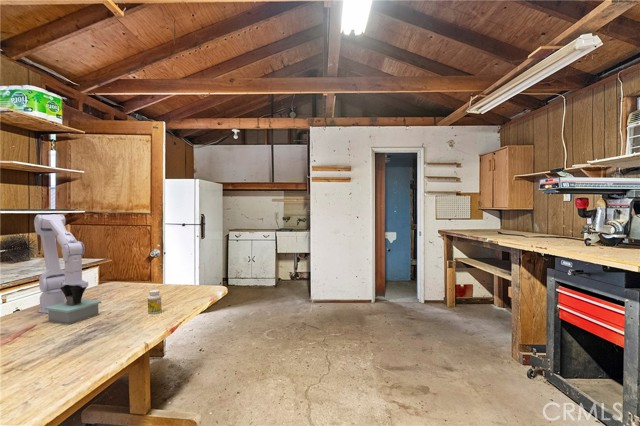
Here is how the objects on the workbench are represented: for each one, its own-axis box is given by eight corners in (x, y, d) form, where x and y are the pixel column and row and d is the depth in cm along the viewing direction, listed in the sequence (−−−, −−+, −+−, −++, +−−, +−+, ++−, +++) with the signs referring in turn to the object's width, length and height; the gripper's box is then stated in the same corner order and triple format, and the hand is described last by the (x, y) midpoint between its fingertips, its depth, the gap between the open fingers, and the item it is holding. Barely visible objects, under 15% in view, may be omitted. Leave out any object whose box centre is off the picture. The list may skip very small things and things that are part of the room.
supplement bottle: (164, 310, 141) (163, 289, 141) (154, 314, 136) (154, 292, 136) (154, 309, 143) (154, 288, 143) (145, 313, 138) (144, 291, 138)
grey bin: (48, 321, 129) (48, 309, 129) (78, 311, 140) (78, 300, 140) (69, 324, 125) (68, 312, 125) (98, 314, 136) (98, 303, 136)
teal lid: (44, 309, 128) (44, 298, 128) (79, 300, 141) (79, 290, 141) (68, 312, 124) (67, 301, 124) (101, 302, 137) (101, 292, 137)
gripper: (51, 271, 131) (51, 303, 131) (75, 274, 126) (76, 307, 126) (69, 268, 137) (69, 299, 137) (93, 270, 133) (93, 302, 133)
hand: (73, 302), depth 132 cm, fingers closed on teal lid, 3 cm apart
